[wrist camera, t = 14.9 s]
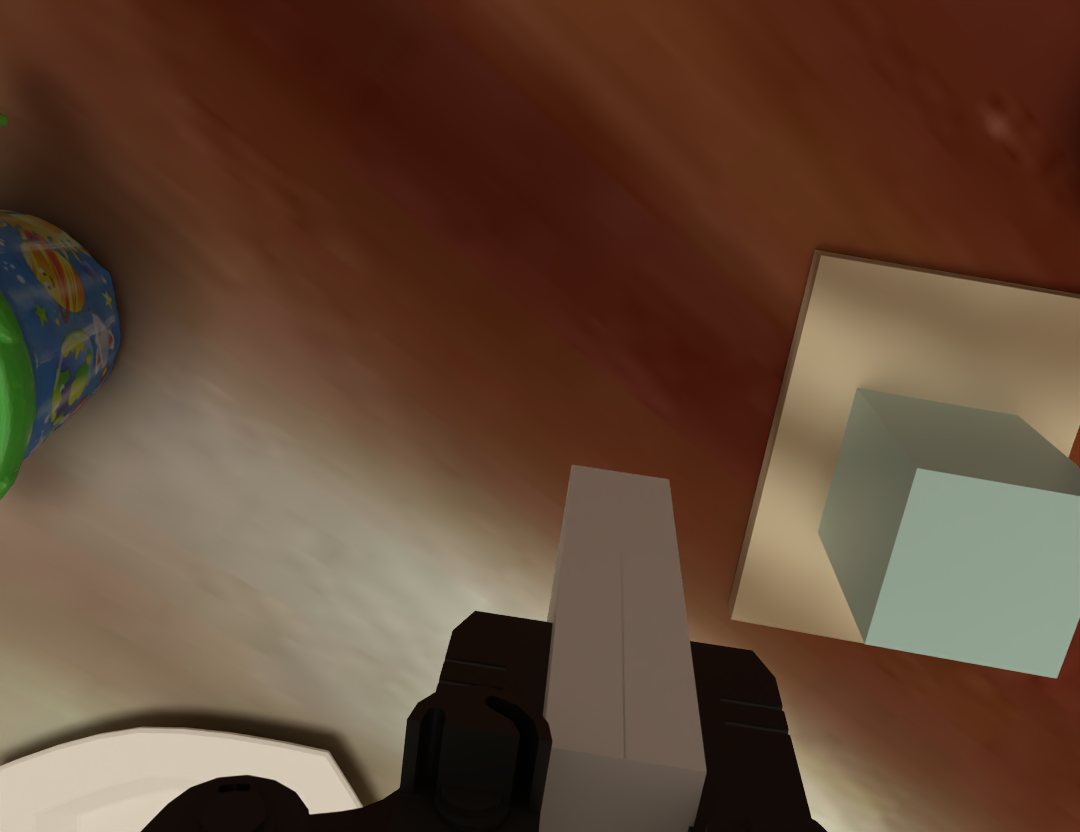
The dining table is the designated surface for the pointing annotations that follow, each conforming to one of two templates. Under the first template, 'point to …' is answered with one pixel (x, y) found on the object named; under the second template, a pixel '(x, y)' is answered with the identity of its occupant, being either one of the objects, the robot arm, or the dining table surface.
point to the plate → (153, 777)
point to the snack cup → (48, 333)
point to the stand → (896, 368)
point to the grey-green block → (955, 533)
